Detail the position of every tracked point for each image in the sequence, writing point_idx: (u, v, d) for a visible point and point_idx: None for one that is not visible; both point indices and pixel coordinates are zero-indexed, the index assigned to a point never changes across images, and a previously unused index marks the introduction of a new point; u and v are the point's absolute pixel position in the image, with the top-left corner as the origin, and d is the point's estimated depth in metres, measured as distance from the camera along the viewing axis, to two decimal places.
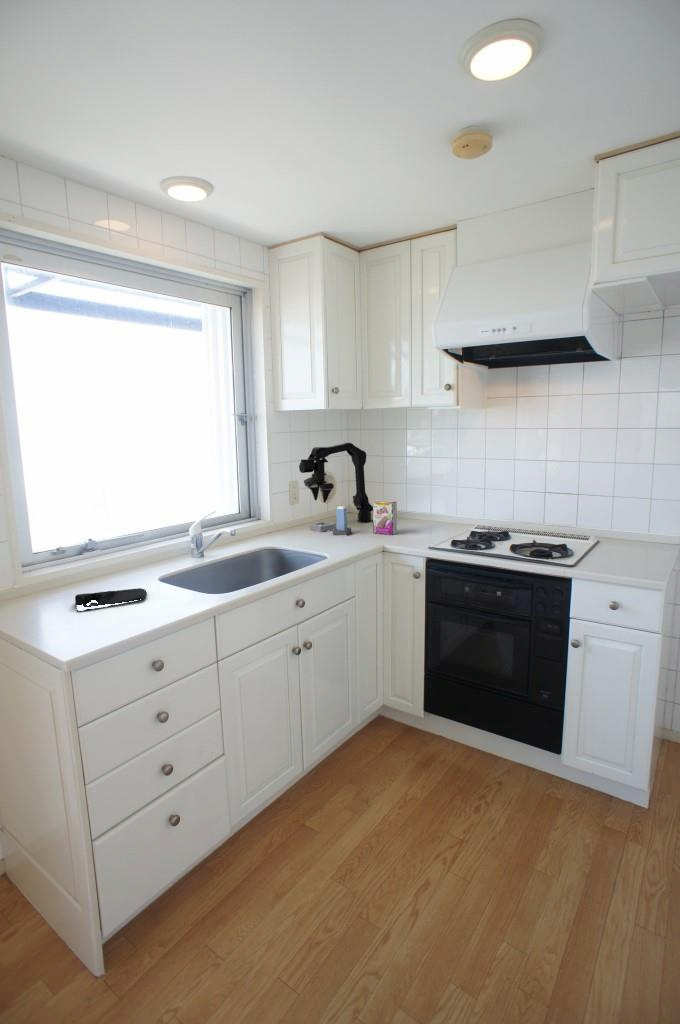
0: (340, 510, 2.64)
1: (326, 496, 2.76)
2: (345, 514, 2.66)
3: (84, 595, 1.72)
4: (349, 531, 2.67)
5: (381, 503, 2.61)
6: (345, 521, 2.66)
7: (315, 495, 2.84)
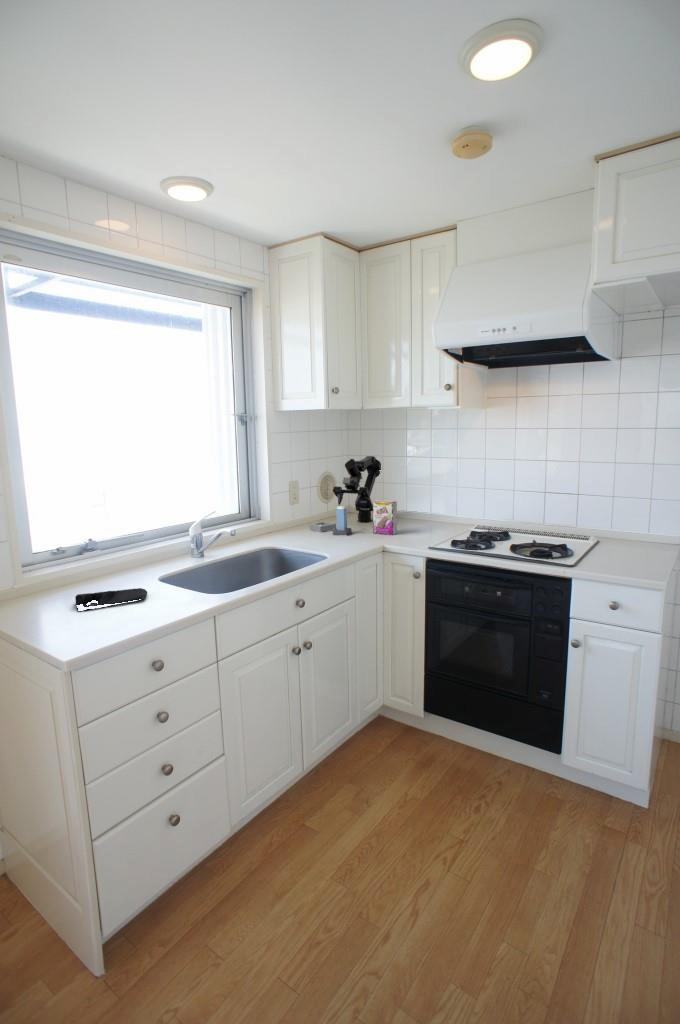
0: (340, 510, 2.64)
1: (359, 501, 2.73)
2: (345, 514, 2.66)
3: (84, 595, 1.72)
4: (349, 531, 2.67)
5: (381, 503, 2.61)
6: (345, 521, 2.66)
7: (340, 500, 2.76)
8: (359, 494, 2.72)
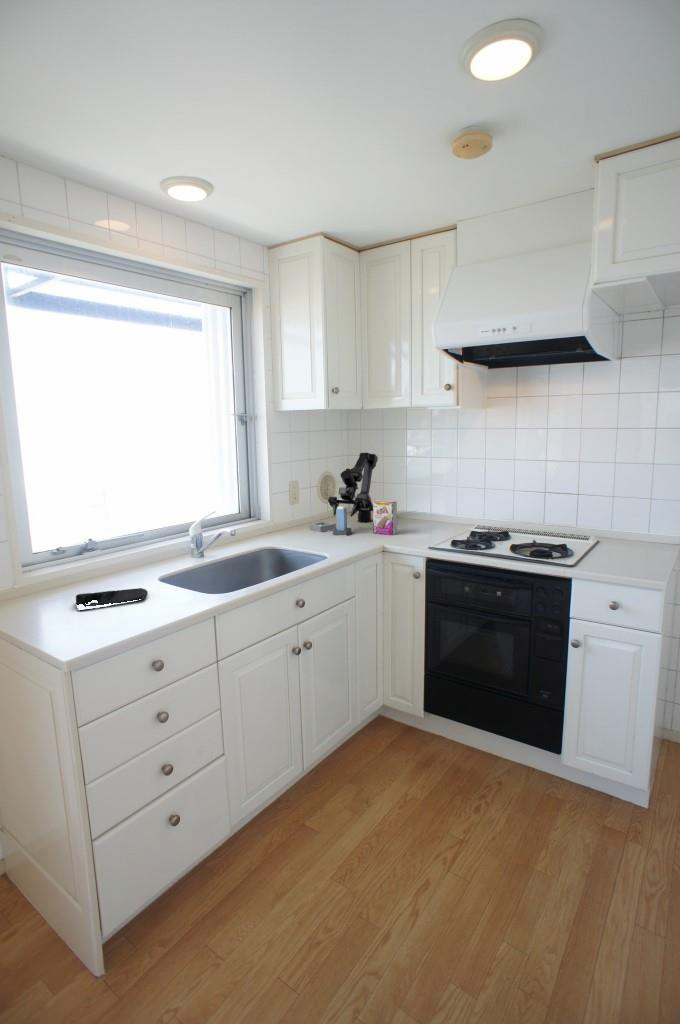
0: (340, 510, 2.64)
1: (354, 511, 2.67)
2: (345, 514, 2.66)
3: (85, 595, 1.72)
4: (349, 531, 2.67)
5: (381, 503, 2.61)
6: (345, 521, 2.66)
7: (335, 511, 2.70)
8: (355, 504, 2.67)
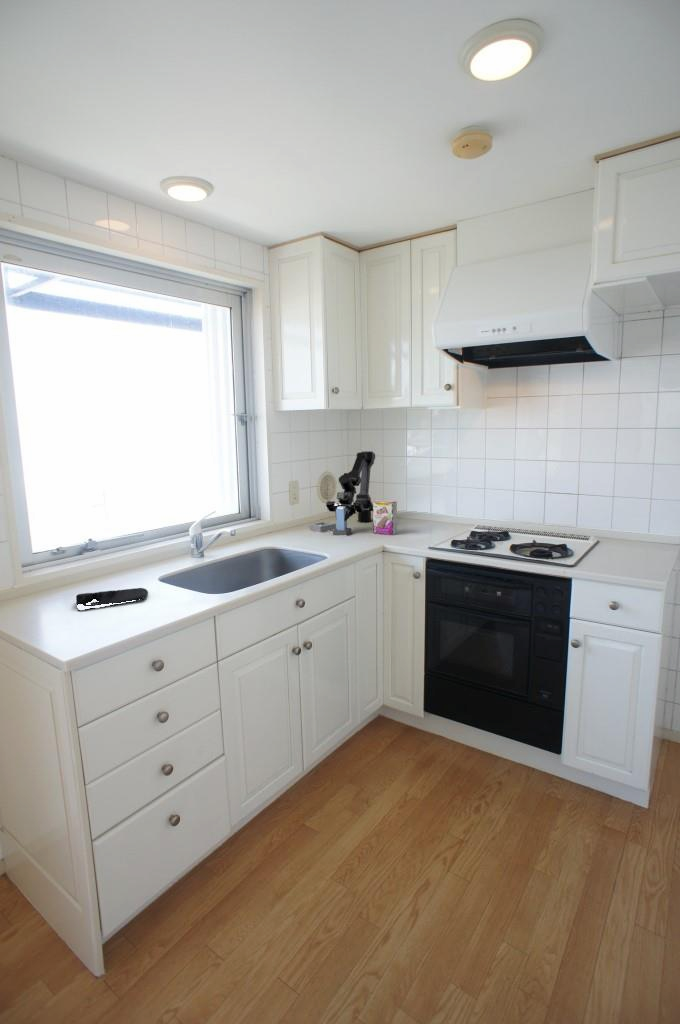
0: (340, 510, 2.64)
1: (348, 516, 2.66)
2: (345, 514, 2.66)
3: (85, 595, 1.73)
4: (349, 531, 2.67)
5: (381, 503, 2.61)
6: (345, 521, 2.66)
7: None
8: (348, 509, 2.66)
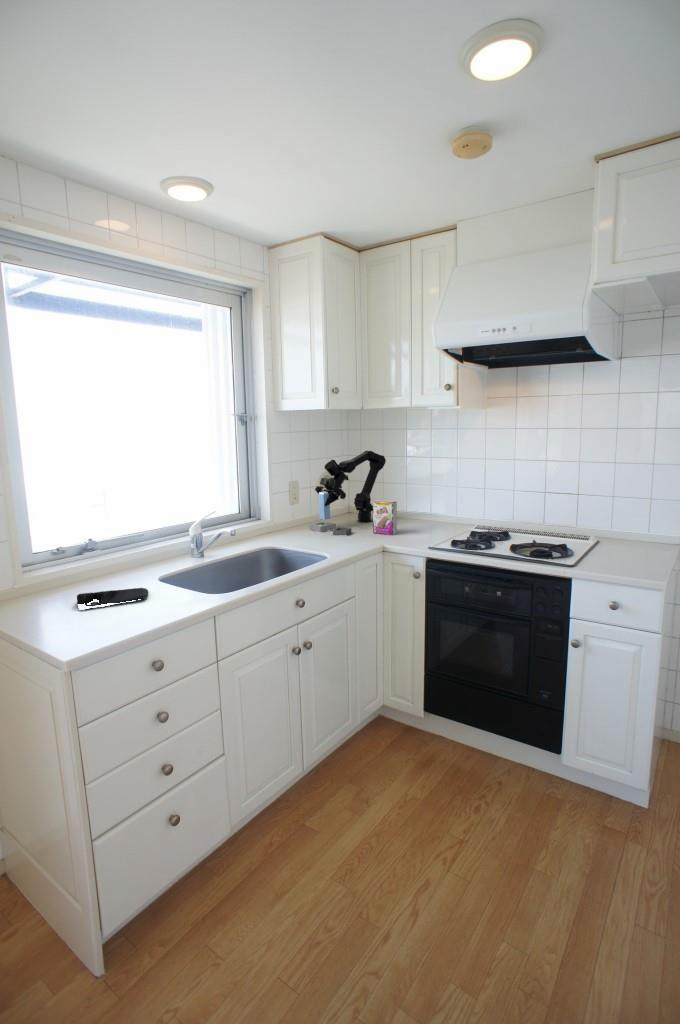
0: (321, 495, 2.73)
1: (330, 501, 2.74)
2: None
3: (86, 594, 1.73)
4: (349, 531, 2.67)
5: (381, 503, 2.61)
6: (326, 506, 2.74)
7: None
8: (330, 495, 2.73)
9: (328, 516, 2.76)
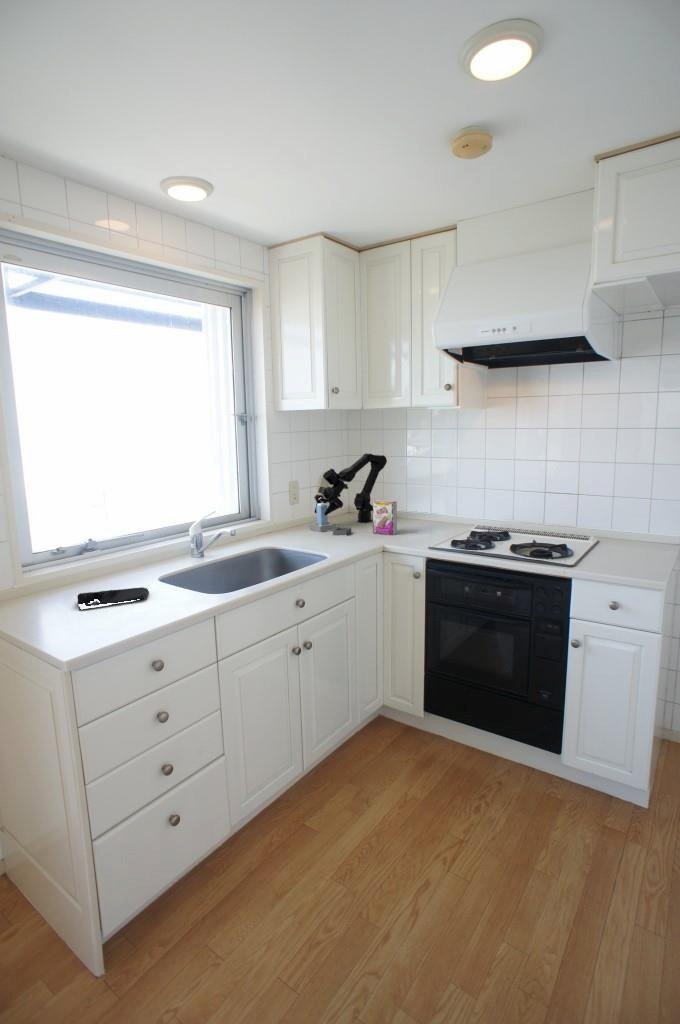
0: (319, 506, 2.77)
1: (330, 511, 2.75)
2: None
3: (86, 594, 1.73)
4: (349, 531, 2.67)
5: (381, 503, 2.61)
6: (324, 517, 2.78)
7: None
8: (330, 504, 2.74)
9: None
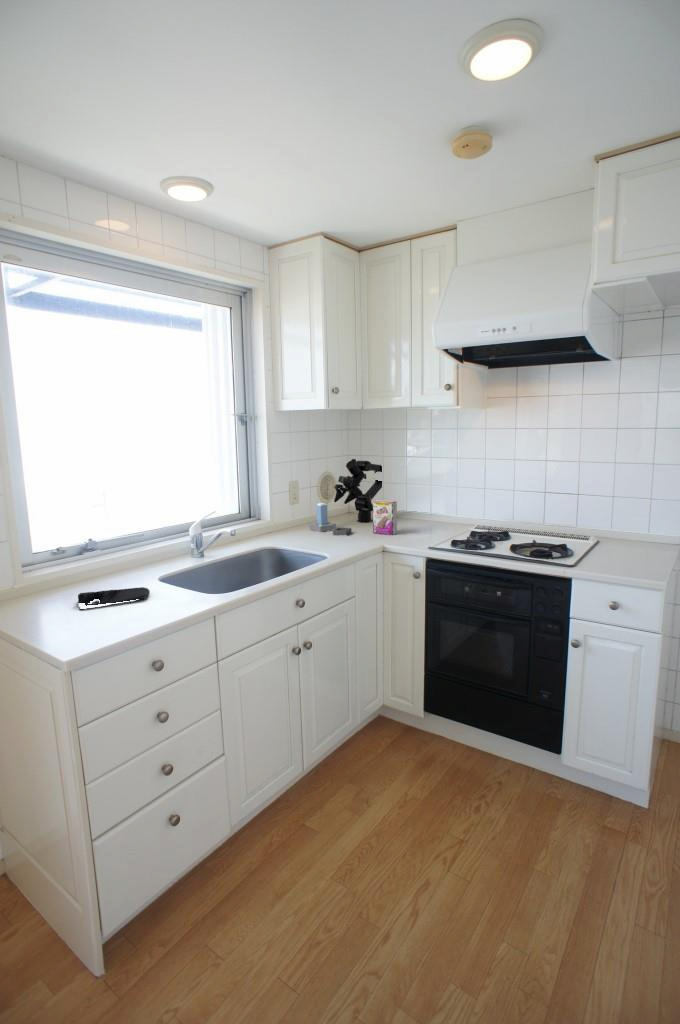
0: (318, 506, 2.77)
1: (349, 499, 2.80)
2: (325, 511, 2.77)
3: (87, 594, 1.73)
4: (349, 531, 2.67)
5: (381, 503, 2.61)
6: (324, 517, 2.78)
7: (337, 497, 2.88)
8: (349, 493, 2.79)
9: None
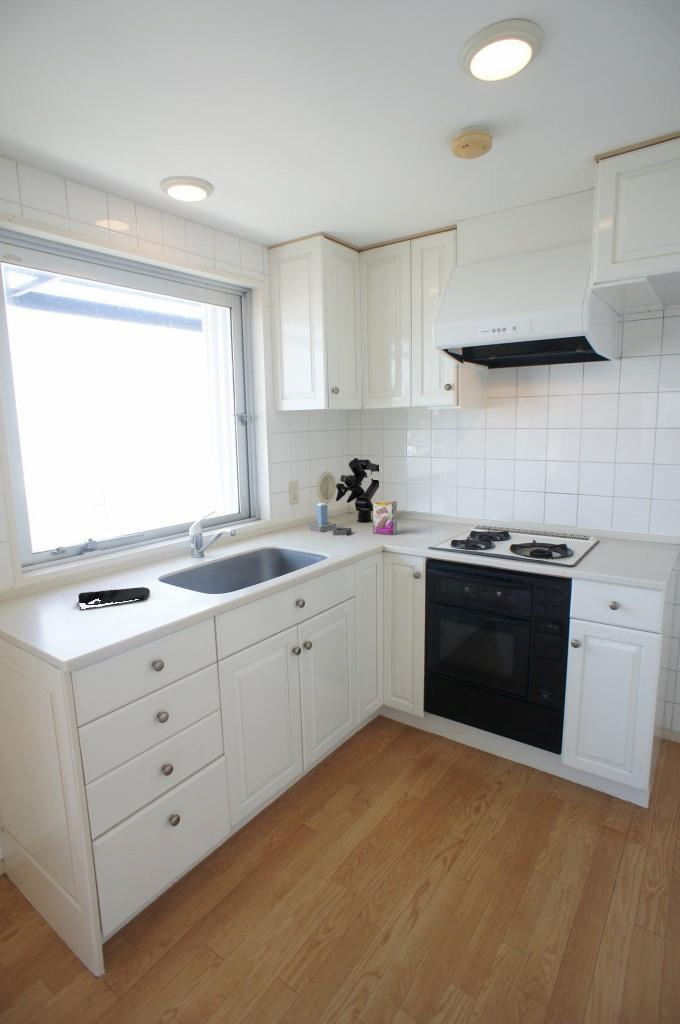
0: (318, 506, 2.77)
1: (352, 498, 2.80)
2: (325, 511, 2.77)
3: (87, 593, 1.74)
4: (349, 531, 2.67)
5: (381, 503, 2.61)
6: (324, 517, 2.78)
7: (338, 496, 2.87)
8: (352, 492, 2.79)
9: None
